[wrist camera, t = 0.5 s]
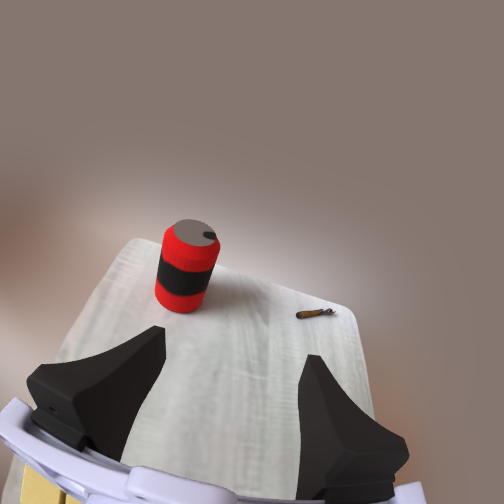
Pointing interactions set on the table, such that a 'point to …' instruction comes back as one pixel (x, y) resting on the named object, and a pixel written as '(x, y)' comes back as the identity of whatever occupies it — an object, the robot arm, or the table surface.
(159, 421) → the table surface
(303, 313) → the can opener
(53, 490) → the butter block
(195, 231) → the soda can
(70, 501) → the butter slice
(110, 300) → the table surface
